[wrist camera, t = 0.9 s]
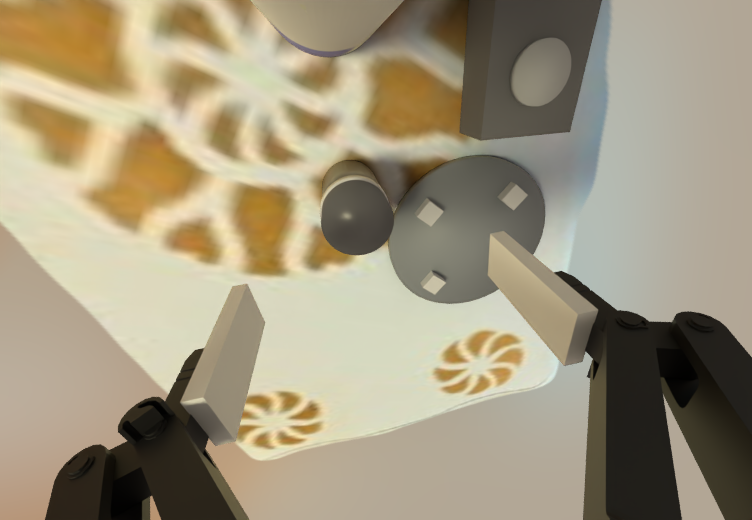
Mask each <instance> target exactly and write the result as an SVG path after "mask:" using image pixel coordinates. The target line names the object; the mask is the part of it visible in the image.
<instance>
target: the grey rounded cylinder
mask: <svg viewBox="0 0 752 520" xmlns="http://www.w3.org/2000/svg"><path fill="white" fill-rule="evenodd" d="M320 217H321V227H322V231H323V234H324V236H325V238H326V240H327V241H328V242H329V244H330V245H331V246H332V247H334V248H335V249H337V250H338V251H340V252H342V253H345V254H349V255H364V254H368V253H371V252H373V251H375V250H377V249H378V248H380V247H381V246H382V245H383V244H384V243H385V242H386V241H387V240H388V238H389V237H390V235H391V233H392V230H393V226H394V215H393V211H392V208H391V206H390V203H389V200H388V198H387V196H386V194H385V192H384V190H383V189H382V188H381V186H380V185H379V183H378V182H377V180H376V178H375V176H374V174H373V173H372V171H371V170H370V169H369V168H368V167H367V166H366V165H364V164H363V163H361V162H358V161H354V160H345V161H341V162H338V163H336V164H335V165H333V166H332V167H331V168H330V169H329V170H328V171H327V173H326V174H325V176H324V179H323V184H322V200H321V206H320Z"/></svg>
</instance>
